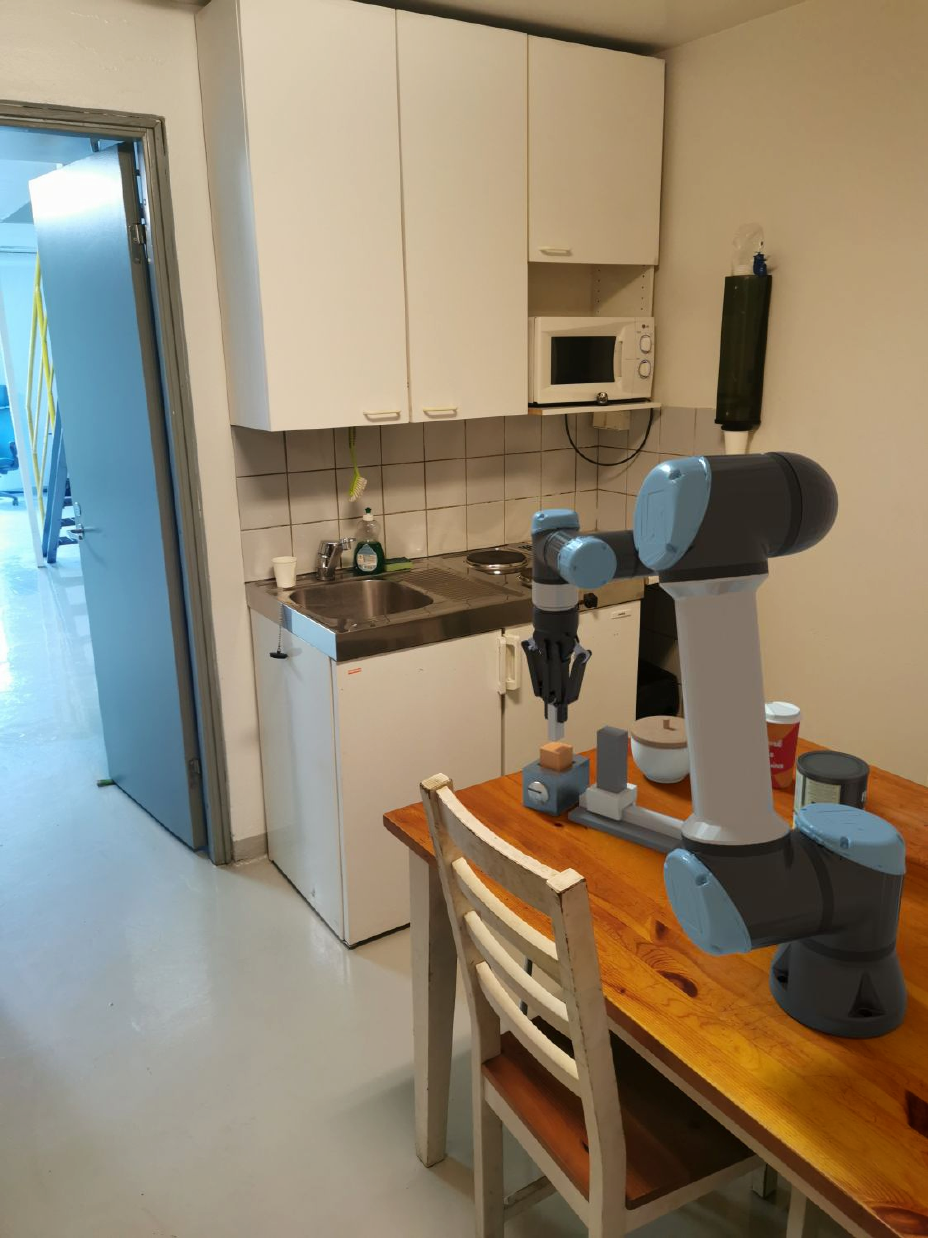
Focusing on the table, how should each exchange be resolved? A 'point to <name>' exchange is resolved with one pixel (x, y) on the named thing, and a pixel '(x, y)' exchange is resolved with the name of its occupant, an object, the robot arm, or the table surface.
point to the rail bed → (634, 826)
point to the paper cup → (782, 741)
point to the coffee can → (830, 780)
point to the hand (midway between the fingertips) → (556, 738)
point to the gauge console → (555, 786)
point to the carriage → (611, 775)
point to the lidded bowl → (660, 748)
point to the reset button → (556, 756)
